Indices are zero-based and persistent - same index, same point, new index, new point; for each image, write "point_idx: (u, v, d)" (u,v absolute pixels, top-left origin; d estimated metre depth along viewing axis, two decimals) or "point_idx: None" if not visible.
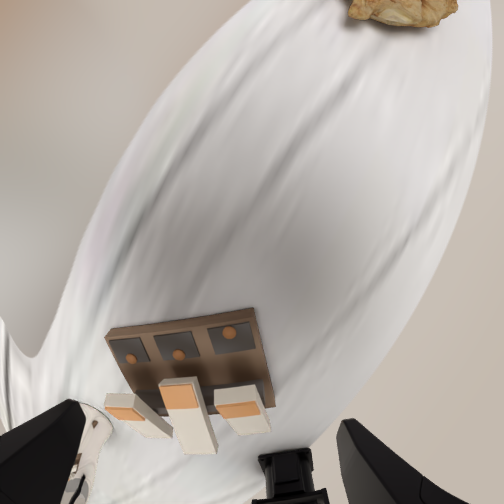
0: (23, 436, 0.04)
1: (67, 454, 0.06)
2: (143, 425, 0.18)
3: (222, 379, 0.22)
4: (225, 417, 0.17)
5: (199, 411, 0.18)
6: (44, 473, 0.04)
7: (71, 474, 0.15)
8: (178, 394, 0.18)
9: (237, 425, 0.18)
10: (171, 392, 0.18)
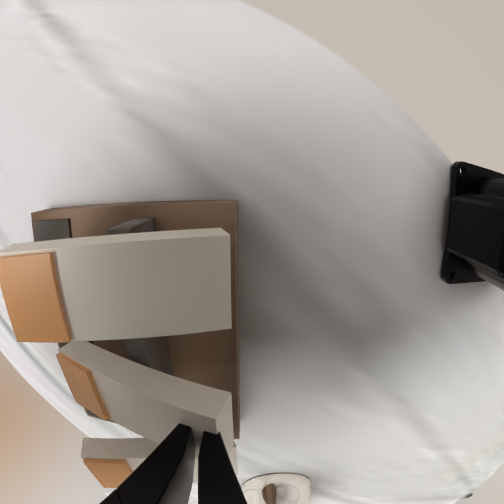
0: (146, 481, 0.04)
1: (187, 486, 0.06)
2: None
3: None
4: (62, 337, 0.06)
5: (100, 376, 0.08)
6: None
7: None
8: (75, 384, 0.08)
9: (140, 321, 0.07)
10: (76, 391, 0.08)
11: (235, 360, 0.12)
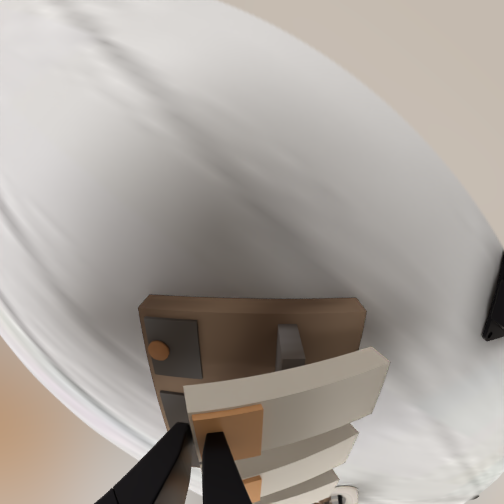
0: (141, 480, 0.04)
1: (184, 485, 0.06)
2: None
3: None
4: (254, 454, 0.07)
5: (270, 472, 0.08)
6: None
7: None
8: None
9: (318, 427, 0.08)
10: None
11: None
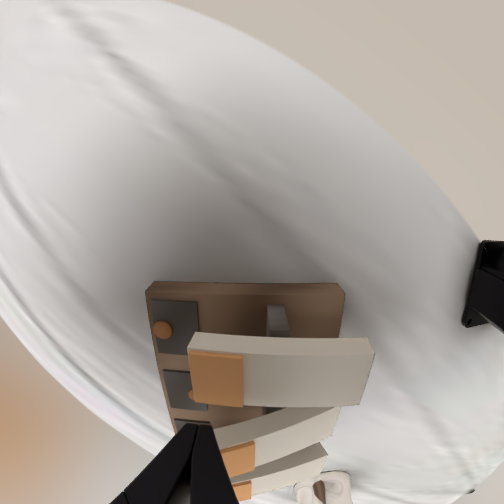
0: (153, 482, 0.04)
1: None
2: (274, 480, 0.12)
3: None
4: (237, 404, 0.10)
5: (263, 438, 0.10)
6: None
7: None
8: (228, 465, 0.10)
9: (299, 398, 0.10)
10: None
11: None
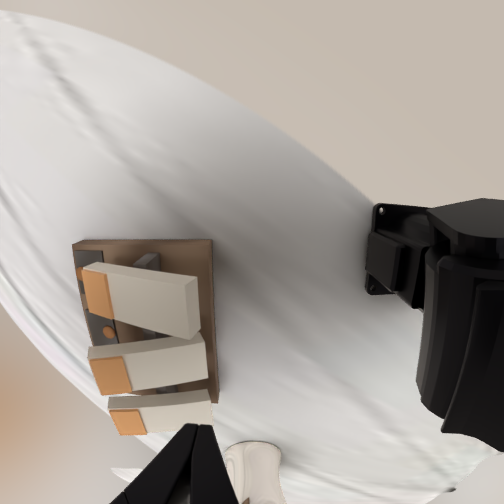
0: (152, 482, 0.04)
1: None
2: (162, 416, 0.15)
3: None
4: (108, 316, 0.14)
5: (130, 356, 0.14)
6: None
7: None
8: (106, 377, 0.13)
9: (144, 319, 0.13)
10: (105, 384, 0.13)
11: (211, 342, 0.18)
